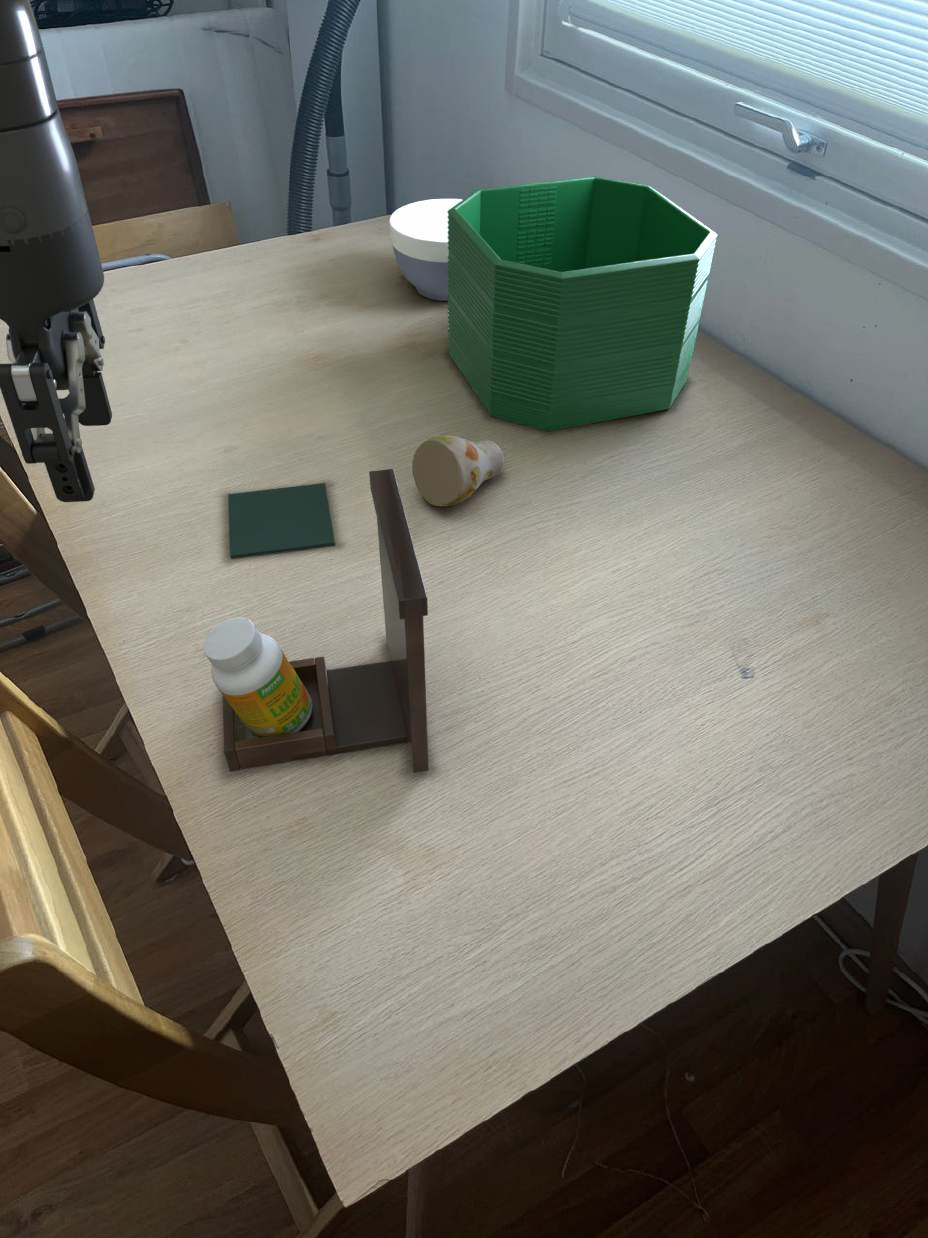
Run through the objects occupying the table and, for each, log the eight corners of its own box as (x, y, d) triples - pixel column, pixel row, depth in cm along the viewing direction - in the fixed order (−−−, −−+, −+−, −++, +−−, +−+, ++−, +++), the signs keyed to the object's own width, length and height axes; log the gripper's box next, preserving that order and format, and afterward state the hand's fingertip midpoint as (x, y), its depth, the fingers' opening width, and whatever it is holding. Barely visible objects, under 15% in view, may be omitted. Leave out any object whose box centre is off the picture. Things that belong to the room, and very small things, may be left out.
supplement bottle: (295, 749, 67) (241, 672, 60) (238, 739, 69) (179, 662, 62) (325, 692, 70) (276, 612, 63) (269, 684, 72) (216, 606, 65)
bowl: (474, 321, 120) (475, 250, 113) (372, 298, 124) (367, 229, 118) (519, 276, 130) (523, 209, 123) (423, 257, 135) (422, 191, 128)
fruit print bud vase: (523, 479, 94) (511, 434, 84) (456, 539, 93) (435, 501, 84) (478, 436, 96) (461, 388, 87) (412, 494, 96) (387, 452, 86)
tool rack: (230, 803, 64) (175, 631, 52) (227, 665, 74) (180, 492, 62) (432, 769, 67) (427, 597, 54) (403, 640, 76) (393, 468, 64)
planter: (505, 440, 99) (513, 282, 86) (435, 336, 116) (433, 192, 103) (708, 403, 105) (744, 249, 92) (613, 309, 122) (632, 170, 110)
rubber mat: (230, 558, 84) (230, 555, 84) (228, 497, 91) (228, 493, 91) (335, 545, 86) (334, 542, 85) (325, 485, 93) (325, 482, 92)
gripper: (-32, 158, 51) (47, 403, 63) (-106, 263, 41) (4, 530, 53) (103, 159, 52) (156, 399, 64) (63, 262, 42) (134, 524, 54)
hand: (87, 459), depth 58 cm, fingers open, 8 cm apart
